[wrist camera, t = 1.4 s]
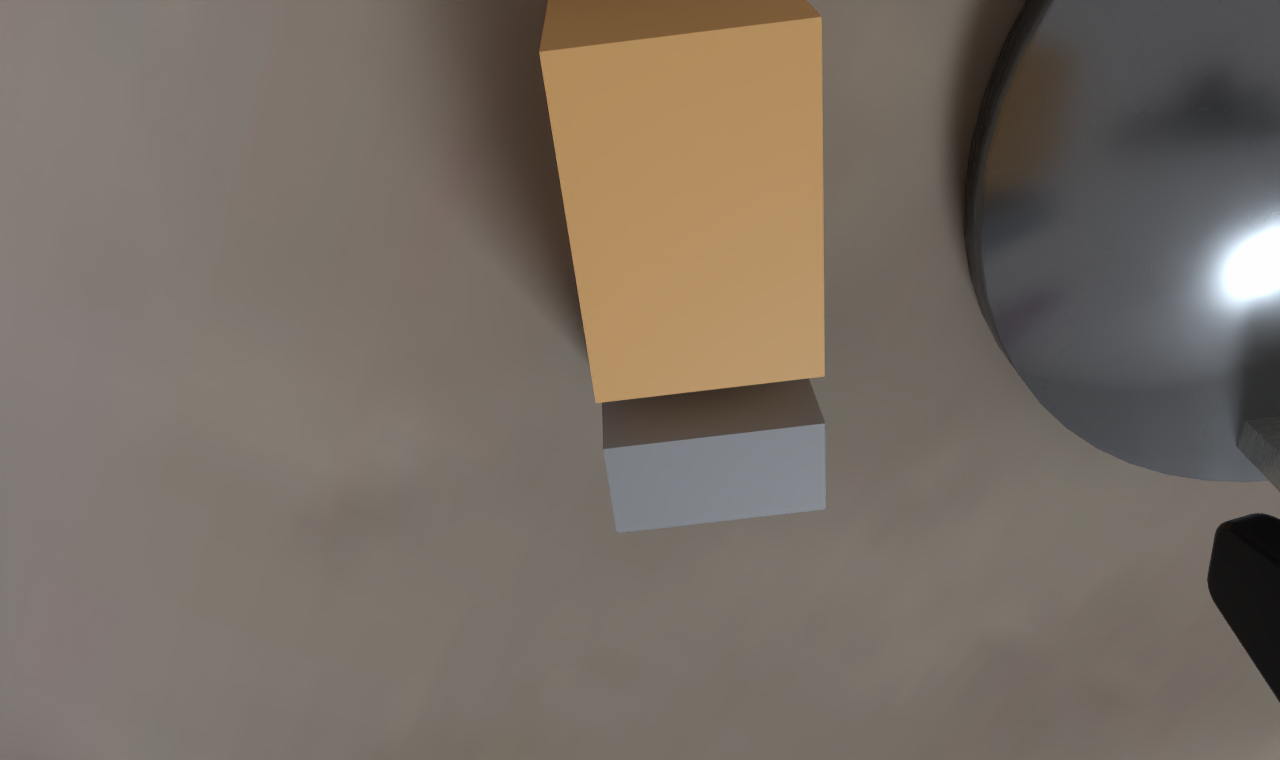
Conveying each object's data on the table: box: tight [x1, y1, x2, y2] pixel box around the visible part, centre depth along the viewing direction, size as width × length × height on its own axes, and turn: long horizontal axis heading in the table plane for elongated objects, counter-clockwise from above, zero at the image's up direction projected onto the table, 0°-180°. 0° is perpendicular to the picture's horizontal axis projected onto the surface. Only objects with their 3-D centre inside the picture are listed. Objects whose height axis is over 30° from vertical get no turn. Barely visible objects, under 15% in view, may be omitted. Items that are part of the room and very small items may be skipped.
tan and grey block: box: [539, 0, 826, 533], centre depth 18 cm, size 4×9×5 cm, turn 6°
